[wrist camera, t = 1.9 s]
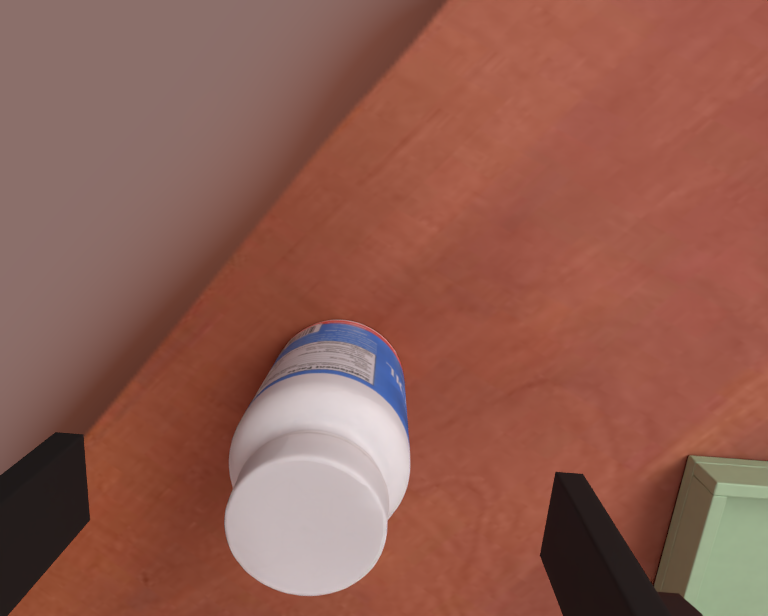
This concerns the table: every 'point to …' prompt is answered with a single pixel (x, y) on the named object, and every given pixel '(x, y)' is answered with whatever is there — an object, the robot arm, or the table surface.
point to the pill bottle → (320, 461)
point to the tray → (719, 538)
